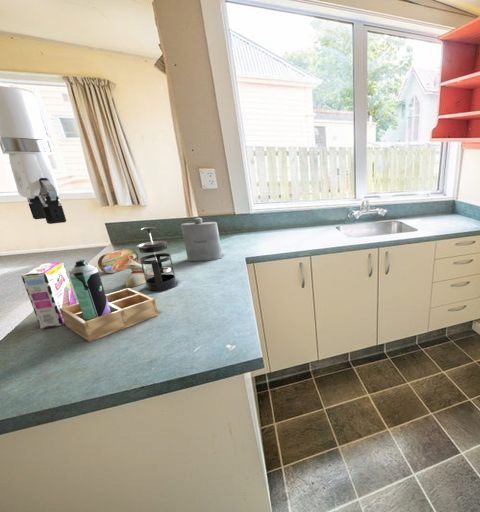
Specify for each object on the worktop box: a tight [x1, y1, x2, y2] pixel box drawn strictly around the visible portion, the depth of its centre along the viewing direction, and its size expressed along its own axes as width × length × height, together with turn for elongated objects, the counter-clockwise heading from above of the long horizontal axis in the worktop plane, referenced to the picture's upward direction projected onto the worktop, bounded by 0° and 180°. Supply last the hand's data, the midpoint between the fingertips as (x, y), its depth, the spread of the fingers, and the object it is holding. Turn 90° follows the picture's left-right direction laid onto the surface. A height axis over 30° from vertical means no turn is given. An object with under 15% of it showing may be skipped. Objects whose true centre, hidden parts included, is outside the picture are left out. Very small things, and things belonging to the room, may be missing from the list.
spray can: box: [68, 259, 111, 321], centre depth 80 cm, size 6×6×20 cm
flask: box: [180, 217, 223, 262], centre depth 141 cm, size 15×6×20 cm, turn 107°
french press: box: [136, 226, 178, 293], centre depth 108 cm, size 12×9×23 cm
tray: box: [60, 287, 159, 343], centre depth 88 cm, size 16×16×6 cm
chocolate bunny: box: [125, 260, 147, 289], centre depth 113 cm, size 6×8×10 cm
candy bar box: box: [20, 261, 77, 330], centre depth 87 cm, size 11×5×16 cm, turn 27°
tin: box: [97, 248, 139, 274], centre depth 128 cm, size 15×3×8 cm, turn 168°
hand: (49, 220), depth 73 cm, fingers open, 9 cm apart
